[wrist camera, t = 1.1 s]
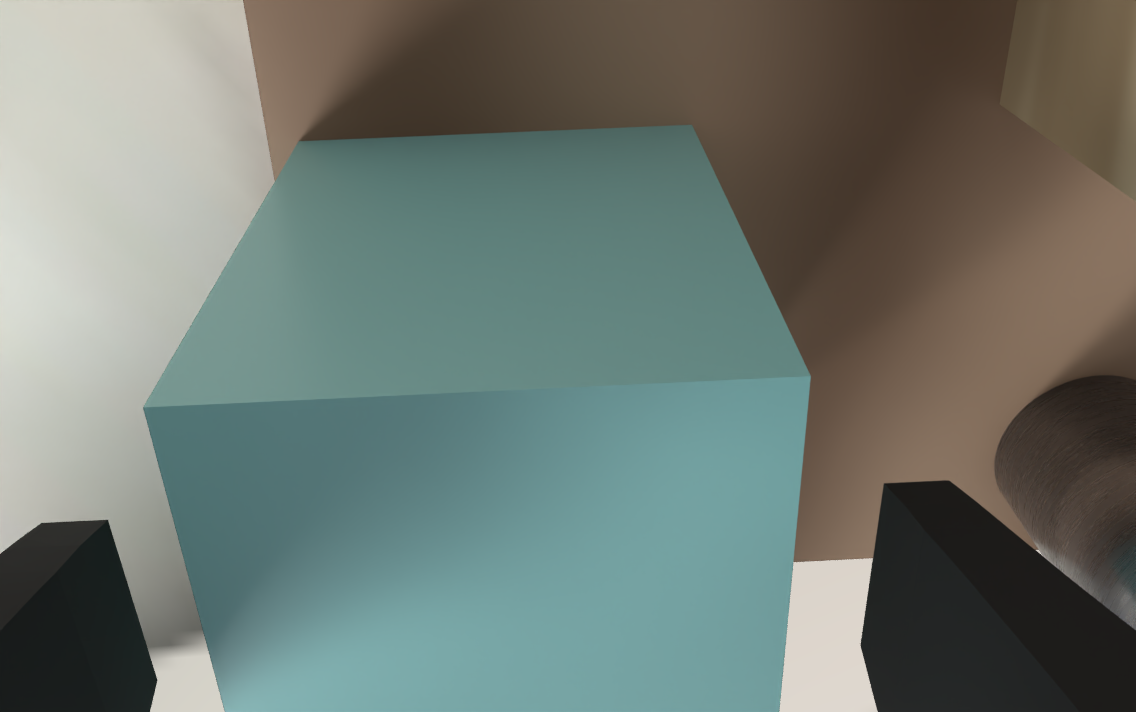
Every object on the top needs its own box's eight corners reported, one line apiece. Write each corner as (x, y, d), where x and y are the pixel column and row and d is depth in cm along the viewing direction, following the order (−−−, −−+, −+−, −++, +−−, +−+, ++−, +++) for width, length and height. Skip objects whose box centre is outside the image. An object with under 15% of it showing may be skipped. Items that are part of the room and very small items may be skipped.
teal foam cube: (350, 465, 17) (259, 841, 11) (298, 141, 14) (143, 407, 8) (683, 449, 17) (769, 813, 11) (692, 124, 14) (810, 376, 8)
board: (353, 546, 19) (345, 585, 18) (223, -241, 13) (200, -242, 12) (1200, 504, 19) (1233, 540, 18) (1456, -285, 13) (1524, -289, 12)
